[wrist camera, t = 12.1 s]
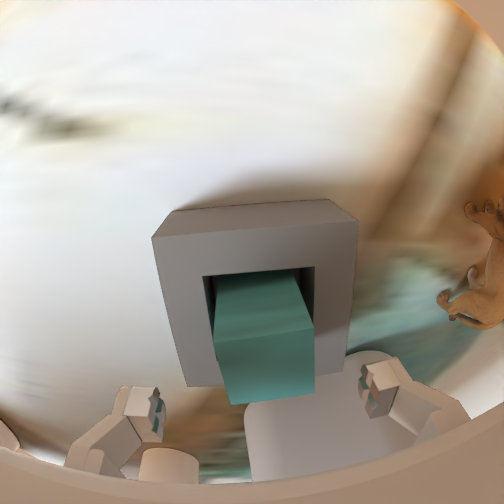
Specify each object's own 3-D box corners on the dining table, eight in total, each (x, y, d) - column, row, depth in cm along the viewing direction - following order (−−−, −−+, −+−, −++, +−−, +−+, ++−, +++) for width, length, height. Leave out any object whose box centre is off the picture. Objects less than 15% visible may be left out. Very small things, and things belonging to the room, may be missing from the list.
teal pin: (220, 260, 19) (212, 342, 11) (283, 251, 19) (314, 327, 11) (230, 314, 20) (230, 404, 13) (288, 305, 20) (314, 392, 13)
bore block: (194, 339, 22) (187, 386, 18) (171, 211, 19) (151, 237, 14) (324, 328, 23) (342, 371, 18) (328, 199, 19) (358, 221, 14)
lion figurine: (458, 153, 18) (548, 177, 10) (498, 162, 18) (577, 186, 10) (428, 321, 23) (481, 386, 15) (467, 313, 24) (520, 367, 15)
